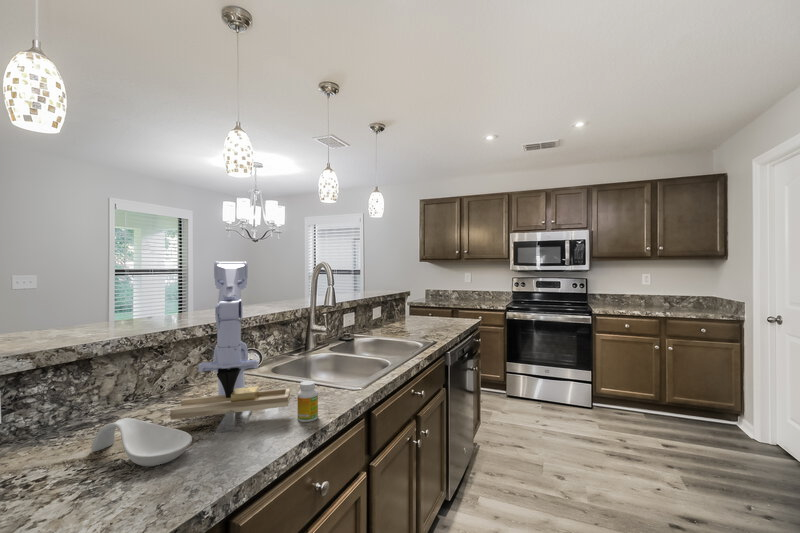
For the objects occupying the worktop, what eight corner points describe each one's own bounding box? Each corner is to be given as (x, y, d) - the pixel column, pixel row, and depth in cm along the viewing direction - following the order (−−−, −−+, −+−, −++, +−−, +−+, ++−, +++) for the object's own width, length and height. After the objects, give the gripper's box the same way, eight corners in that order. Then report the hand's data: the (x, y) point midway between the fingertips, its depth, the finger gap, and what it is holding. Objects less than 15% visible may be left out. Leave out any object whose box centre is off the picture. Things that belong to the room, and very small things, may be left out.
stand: (228, 414, 102) (228, 398, 102) (251, 412, 103) (251, 396, 103) (216, 433, 90) (216, 414, 90) (242, 430, 91) (241, 412, 92)
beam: (182, 410, 98) (182, 399, 98) (290, 398, 104) (290, 387, 104) (170, 422, 90) (170, 410, 90) (288, 408, 96) (287, 397, 96)
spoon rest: (204, 450, 82) (204, 418, 82) (155, 479, 71) (155, 442, 71) (126, 438, 89) (126, 408, 89) (70, 462, 77) (70, 428, 77)
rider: (235, 399, 99) (235, 388, 99) (258, 397, 100) (258, 386, 100) (231, 406, 94) (230, 394, 94) (255, 403, 96) (255, 392, 96)
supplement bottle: (312, 423, 96) (312, 386, 96) (293, 421, 97) (293, 385, 97) (321, 415, 101) (320, 380, 101) (303, 414, 102) (303, 379, 102)
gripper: (194, 350, 91) (194, 404, 91) (255, 347, 94) (255, 399, 94) (203, 344, 98) (203, 395, 98) (259, 342, 101) (260, 391, 101)
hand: (229, 396), depth 97 cm, fingers closed
